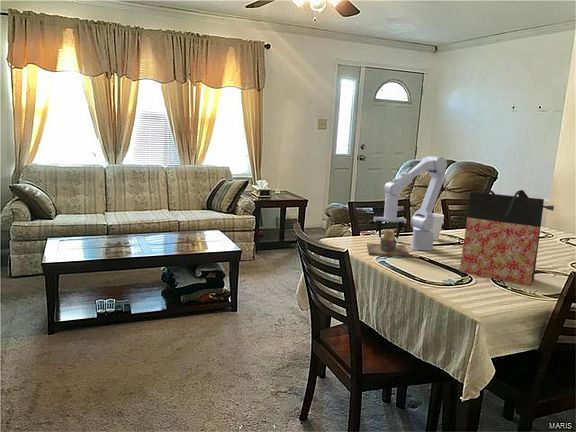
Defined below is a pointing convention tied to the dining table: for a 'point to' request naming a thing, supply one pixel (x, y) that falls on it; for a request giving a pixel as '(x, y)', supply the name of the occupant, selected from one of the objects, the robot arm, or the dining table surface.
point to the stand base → (387, 249)
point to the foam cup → (437, 225)
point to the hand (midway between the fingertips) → (388, 237)
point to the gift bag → (502, 236)
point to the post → (388, 235)
